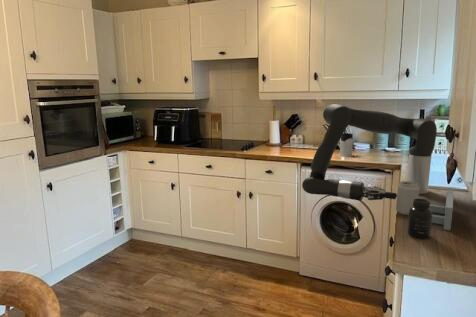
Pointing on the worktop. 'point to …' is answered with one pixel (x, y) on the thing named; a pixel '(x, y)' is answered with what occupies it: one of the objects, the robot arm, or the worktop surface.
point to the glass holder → (346, 145)
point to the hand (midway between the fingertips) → (396, 196)
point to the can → (406, 196)
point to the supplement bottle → (420, 219)
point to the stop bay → (444, 211)
